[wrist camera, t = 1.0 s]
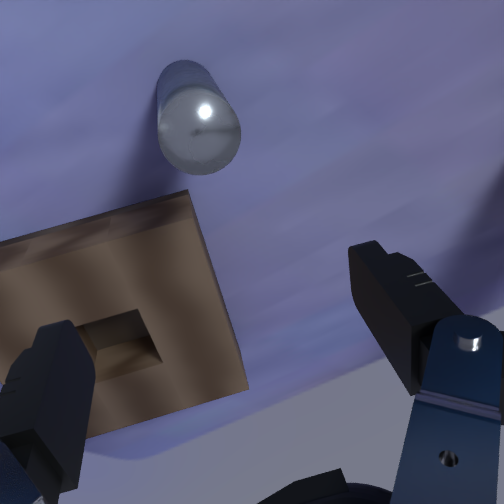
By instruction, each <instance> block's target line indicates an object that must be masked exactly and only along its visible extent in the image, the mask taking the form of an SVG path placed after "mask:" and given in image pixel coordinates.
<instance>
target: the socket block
mask: <svg viewBox="0 0 504 504" xmlns="http://www.w3.org/2000/svg"><path fill="white" fill-rule="evenodd" d="M67 319H68V320H70V321H71V322H72V323H73V324H74V326H75V328H76V330H77V332H78V333H79V335H80V337H81V339H82V341H83V343H84V344H85V346H86V348H87V350H88V352H89V354H90V356H91V357H92V360H93V363H94V367H95V374H96V379H95V386H94V392H93V398H92V404H91V410H90V416H89V422H88V428H87V434H86V439H88V438H91V437H94V436H97V435H101V434H104V433H107V432H111V431H114V430H117V429H120V428H124V427H127V426H130V425H134V424H137V423H140V422H143V421H147V420H150V419H153V418H157V417H160V416H163V415H166V414H170V413H173V412H176V411H180V410H183V409H186V408H189V407H193V406H196V405H199V404H203V403H206V402H209V401H212V400H216V399H219V398H222V397H226V396H229V395H232V394H235V393H239V392H242V391H245V390H249V386H248V382H247V378H246V374H245V369H244V365H243V361H242V357H241V352H240V349H239V346H238V343H237V340H236V337H235V333H234V330H233V327H232V324H231V321H230V318H229V315H228V312H227V309H226V306H225V303H224V300H223V296H222V293H221V290H220V287H219V284H218V281H217V278H216V275H215V272H214V269H213V266H212V263H211V259H210V256H209V253H208V250H207V247H206V244H205V241H204V238H203V235H202V232H201V229H200V226H199V222H198V219H197V216H196V213H195V210H194V207H193V204H192V201H191V198H190V195H189V192H188V189H187V190H183V191H180V192H176V193H173V194H169V195H165V196H162V197H158V198H155V199H151V200H148V201H144V202H141V203H137V204H133V205H130V206H126V207H123V208H119V209H116V210H112V211H108V212H105V213H101V214H98V215H94V216H91V217H87V218H84V219H80V220H76V221H73V222H69V223H66V224H62V225H59V226H55V227H52V228H48V229H44V230H41V231H37V232H34V233H30V234H27V235H23V236H20V237H16V238H12V239H9V240H5V241H2V242H0V382H1V383H2V385H4V384H5V379H6V377H7V374H8V372H9V369H10V367H11V365H12V364H13V362H14V361H15V360H16V359H17V358H18V356H19V355H20V354H21V353H22V352H23V350H24V349H28V348H31V347H32V344H33V341H34V339H35V336H36V333H37V330H38V328H39V327H41V326H44V325H48V324H52V323H56V322H59V321H63V320H67Z"/></svg>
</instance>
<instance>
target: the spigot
mask: <svg viewBox="0 0 504 504" xmlns="http://www.w3.org/2000/svg"><path fill="white" fill-rule="evenodd" d="M157 118H158V141H159V145H160V148H161V150H162V153H163V154H164V156H165V158H166V159H167V160H168V161H169V162H170V163H171V164H172V165H173V166H174V167H175V168H177V169H179V170H180V171H182V172H185V173H188V174H192V175H207V174H212V173H215V172H217V171H219V170H221V169H222V168H224V167H225V166H226V165H228V164H229V163H230V162H231V160H232V159H233V158H234V156H235V155H236V153H237V151H238V148H239V145H240V141H241V128H240V124H239V120H238V118H237V116H236V114H235V112H234V111H233V109H232V108H231V106H230V104H229V103H228V101H227V100H226V98H225V97H224V95H223V94H222V92H221V90H220V89H219V87H218V86H217V84H216V83H215V81H214V80H213V78H212V76H211V75H210V73H209V72H208V71H207V70H206V69H205V68H204V67H203V66H202V65H200V64H199V63H197V62H194V61H190V60H179V61H176V62H173V63H171V64H170V65H168V66H167V67H166V68H165V69H164V70H163V71H162V73H161V75H160V77H159V79H158V83H157Z"/></svg>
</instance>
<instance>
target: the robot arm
mask: <svg viewBox="0 0 504 504" xmlns="http://www.w3.org/2000/svg"><path fill="white" fill-rule="evenodd" d="M348 258H349V270H350V282H351V292H352V296H353V300H354V303H355V305H356V307H357V309H358V311H359V313H360V314H361V316H362V318H363V319H364V321H365V323H366V324H367V326H368V327H369V329H370V331H371V332H372V334H373V336H374V337H375V339H376V340H377V342H378V344H379V345H380V347H381V349H382V350H383V352H384V353H385V355H386V357H387V358H388V360H389V362H390V363H391V365H392V366H393V368H394V370H395V371H396V373H397V375H398V376H399V378H400V379H401V381H402V383H403V384H404V386H405V388H406V389H407V391H408V392H409V394H410V396H412V395H415V399H414V403H413V407H412V411H411V415H410V420H409V424H408V428H407V433H406V437H405V441H404V445H403V450H402V454H401V458H400V462H399V467H398V471H397V475H396V479H395V484H394V488H393V492H391V491H388V490H386V489H383V488H380V487H376V486H372V485H368V484H360V483H346V481H345V478H344V475H343V473H342V470H341V468H339V469H336V470H332V471H329V472H325V473H322V474H318V475H315V476H311V477H308V478H305V479H301V480H298V481H295V482H293V483H291V484H289V485H288V486H286V487H284V488H283V489H281V490H279V491H277V492H276V493H274V494H272V495H271V496H269V497H268V498H266V499H264V500H262V501H261V502H259V503H258V504H496V500H497V484H498V483H497V482H498V466H499V446H500V429H501V425H504V331H499V329H498V328H496V326H494V325H493V324H492V323H490V322H489V321H487V320H485V319H482V318H480V317H477V316H472V315H465V314H464V313H463V312H462V311H461V310H460V309H459V308H458V307H457V306H456V305H455V304H454V303H453V302H452V301H451V299H450V298H449V297H448V296H447V295H446V294H445V293H444V292H443V291H442V290H441V289H440V288H439V287H438V286H437V284H436V283H435V282H432V279H431V278H430V277H429V276H428V275H427V274H426V273H424V271H423V270H422V268H421V267H420V266H419V265H418V264H417V263H416V262H415V261H414V260H413V259H411V258H409V257H407V256H405V255H403V254H400V253H398V252H396V253H392V254H387V252H386V251H385V250H384V249H383V248H382V247H381V245H380V244H379V243H378V242H377V241H376V240H373V241H369V242H365V243H361V244H357V245H354V246H350V247H349V249H348ZM95 379H96V374H95V367H94V363H93V360H92V357H91V356H90V354H89V352H88V350H87V348H86V346H85V344H84V343H83V341H82V339H81V337H80V335H79V333H78V332H77V330H76V328H75V326H74V324H73V323H72V322H71V321H70V320H68V319H67V320H63V321H59V322H56V323H52V324H48V325H44V326H41V327H39V328H38V330H37V333H36V336H35V339H34V341H33V344H32V347H31V348H28V349H24V350H23V352H22V353H21V354H20V355H19V356H18V358H17V359H16V360H15V361H14V362H13V364H12V365H11V367H10V369H9V372H8V374H7V377H6V379H5V384H4V385H3V387H2V390H1V392H0V504H58V499H59V494H60V493H63V492H67V491H70V490H74V489H77V488H78V482H79V476H80V470H81V464H82V458H83V452H84V446H85V440H86V434H87V428H88V422H89V416H90V410H91V404H92V398H93V392H94V386H95Z"/></svg>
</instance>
